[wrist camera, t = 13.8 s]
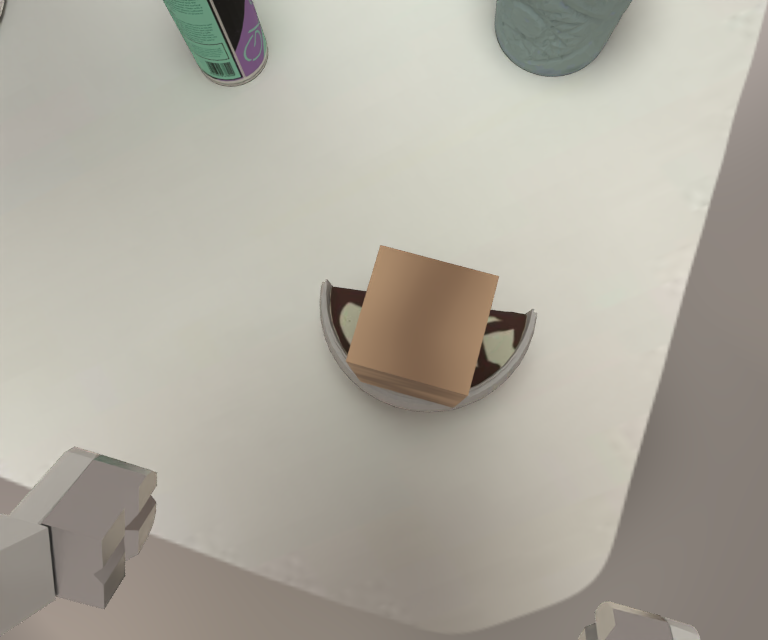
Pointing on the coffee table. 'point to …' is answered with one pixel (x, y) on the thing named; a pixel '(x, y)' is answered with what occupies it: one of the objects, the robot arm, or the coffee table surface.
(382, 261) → the walnut block
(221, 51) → the spray can
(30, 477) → the coffee table surface
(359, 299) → the ice cream tub
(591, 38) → the plant pot
